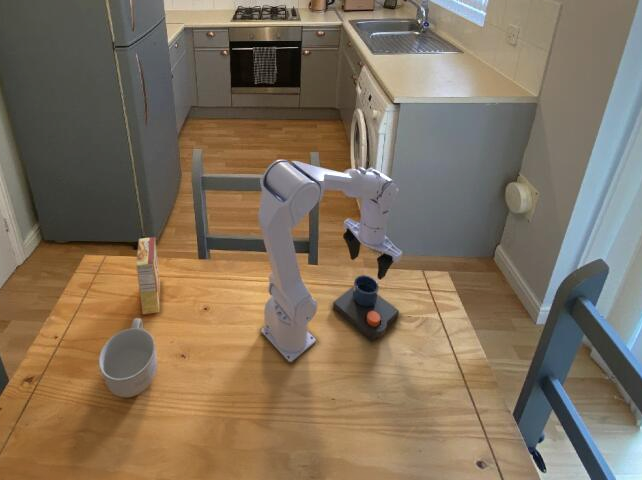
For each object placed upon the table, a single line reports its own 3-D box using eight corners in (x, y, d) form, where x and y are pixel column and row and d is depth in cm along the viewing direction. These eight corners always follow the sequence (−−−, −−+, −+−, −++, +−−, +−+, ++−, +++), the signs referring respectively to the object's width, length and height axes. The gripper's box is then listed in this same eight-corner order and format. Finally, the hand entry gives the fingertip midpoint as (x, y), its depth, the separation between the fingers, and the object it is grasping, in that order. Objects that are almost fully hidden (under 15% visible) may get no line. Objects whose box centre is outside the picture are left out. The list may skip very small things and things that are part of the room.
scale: (330, 309, 99) (331, 299, 98) (359, 286, 105) (360, 276, 104) (374, 348, 90) (376, 336, 89) (403, 320, 96) (405, 309, 95)
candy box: (144, 285, 107) (137, 238, 101) (161, 283, 107) (155, 236, 101) (142, 315, 99) (135, 265, 93) (160, 312, 99) (154, 263, 93)
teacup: (146, 411, 79) (141, 384, 76) (93, 400, 81) (87, 372, 78) (171, 344, 92) (168, 318, 89) (125, 335, 94) (121, 310, 91)
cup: (348, 297, 100) (349, 283, 98) (362, 285, 103) (364, 271, 102) (366, 312, 96) (368, 298, 94) (381, 299, 99) (383, 285, 98)
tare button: (363, 320, 93) (364, 315, 92) (371, 313, 94) (372, 308, 94) (374, 329, 91) (375, 324, 90) (382, 322, 92) (383, 317, 92)
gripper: (413, 230, 91) (404, 277, 96) (358, 198, 101) (353, 242, 107) (394, 244, 87) (386, 293, 92) (339, 210, 97) (335, 255, 103)
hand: (367, 266), depth 99 cm, fingers open, 7 cm apart
